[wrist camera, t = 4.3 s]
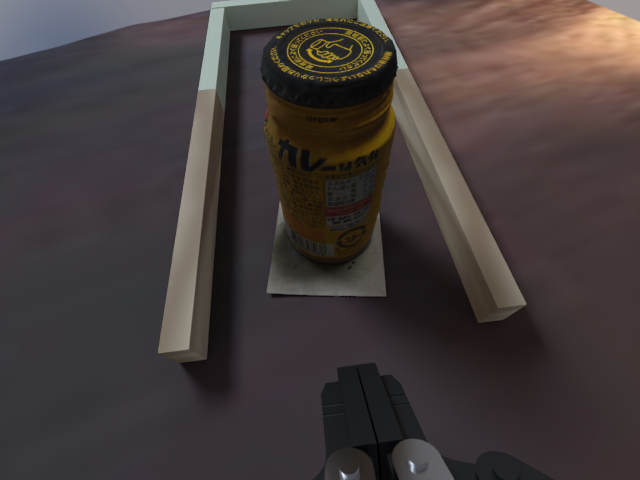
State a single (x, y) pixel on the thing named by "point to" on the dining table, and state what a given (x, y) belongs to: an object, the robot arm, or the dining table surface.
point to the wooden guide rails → (438, 181)
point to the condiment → (329, 154)
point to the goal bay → (268, 11)
